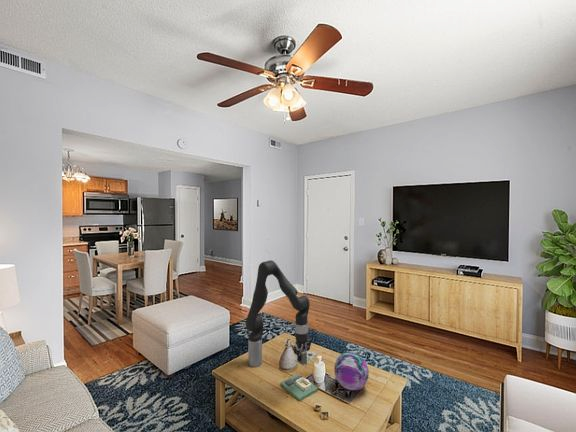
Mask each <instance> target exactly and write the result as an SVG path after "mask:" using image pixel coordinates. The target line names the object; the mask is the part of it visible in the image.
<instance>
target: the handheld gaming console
mask: <svg viewBox="0 0 576 432" xmlns="http://www.w3.org/2000/svg"><path fill="white" fill-rule="evenodd" d="M316 354H317V353H316V352H313V351H310V350H309V351H307V363H306V364H305V365H309V363H310V362H311V361H312V360H313V359H314V357H315V356H316Z"/></svg>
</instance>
